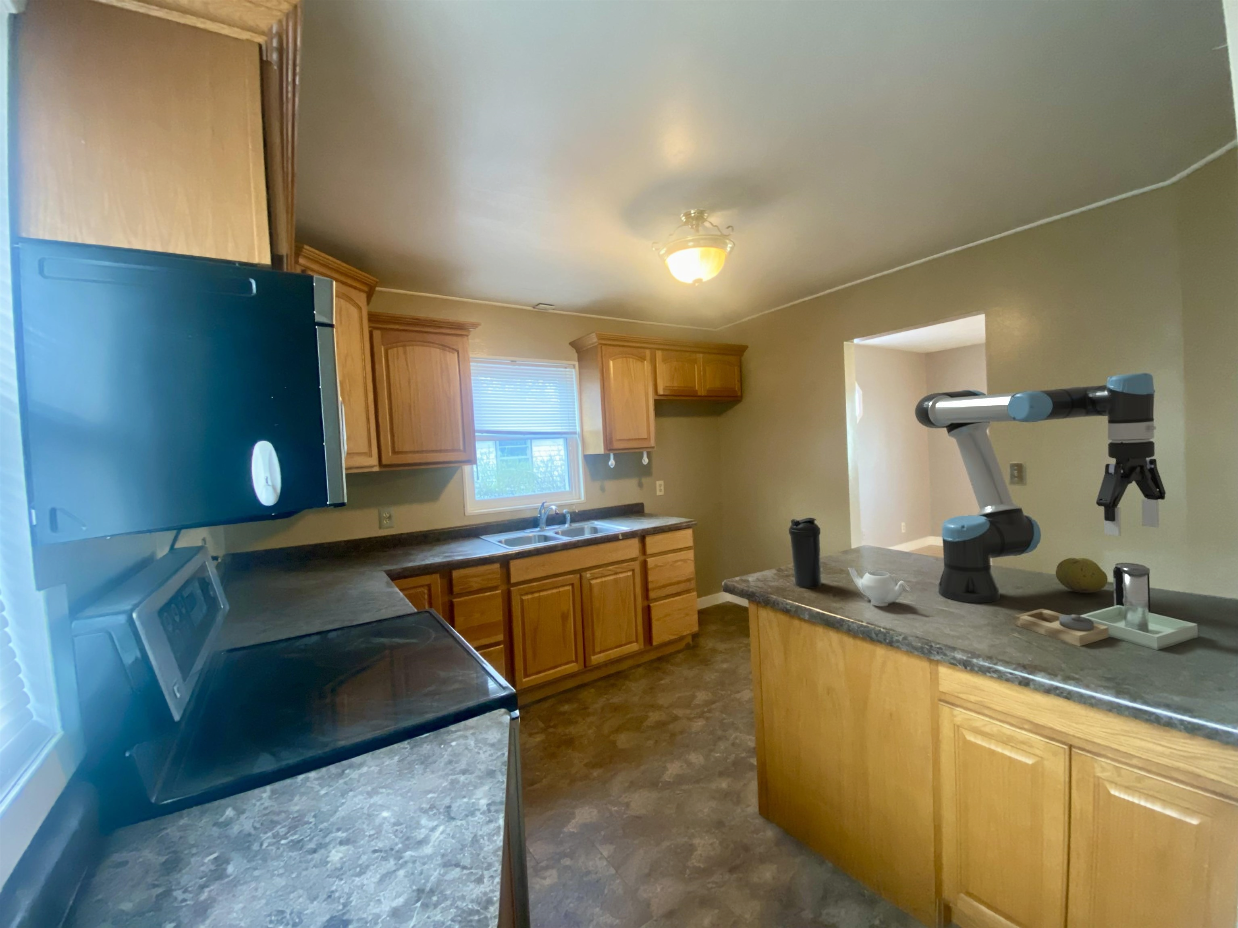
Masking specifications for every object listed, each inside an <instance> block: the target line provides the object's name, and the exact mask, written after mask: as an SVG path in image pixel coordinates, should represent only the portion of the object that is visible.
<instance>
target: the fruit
mask: <svg viewBox="0 0 1238 928" xmlns="http://www.w3.org/2000/svg"><path fill="white" fill-rule="evenodd" d="M1055 577H1056V579H1057V581H1058V582H1059V583H1060V584H1061V585H1062V586H1063V587H1065V588H1067V589H1068V590H1070V591H1072V592H1076V593H1079V594H1086V593H1087V594H1088V593H1095V592H1099V591H1101V590H1102V589H1104V588H1105V586H1106V585H1107V584H1108V575H1107V573H1106V572H1105V571H1103V569H1102V568H1101V567H1100V566H1099V565H1098V564H1097V563H1096V562H1095V561H1094V560H1092V559H1090V558H1086V557H1078V558H1076V557H1068V558H1065V559H1063V560H1060V562H1059V563H1058V564H1057V565H1056V569H1055Z"/></svg>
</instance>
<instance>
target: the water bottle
mask: <svg viewBox="0 0 1238 928" xmlns="http://www.w3.org/2000/svg"><path fill="white" fill-rule="evenodd" d="M815 521H817V519H816V518H815V517H806V518H802V519H799V520H798V519H796V518H793V519H791V520H790V523H791V524H790V526H789V527H788V534H789V536H790V547H791V556H792V564H793V577H794V584H795V586H796V587H799V588H803V589H816V588H820V587H821V586H822V580H821V579H822V576H821V573H822V571H821V570H822V568H821V564H822V563H821V547H820V546H821V545H820V544H821V543H820V542H821V541H820V536H821V527H819V525H818V524H817V523H816V522H815Z"/></svg>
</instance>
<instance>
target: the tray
mask: <svg viewBox="0 0 1238 928" xmlns="http://www.w3.org/2000/svg"><path fill="white" fill-rule="evenodd" d="M1148 614H1149V632H1148V633H1145V632H1141V631H1138V630H1134V629H1130V628H1127V627H1125V622H1124V606H1120V605H1117V606H1114V605H1113V606H1111V607H1107V608H1103V609H1099V610H1096V611H1095V610H1094V611H1091V612H1088V613H1084V614H1081V615H1079V616H1080V617H1085V618H1088V619H1090V620H1092V621H1093V623H1096V624H1100V625H1103V626H1107V627H1108V630H1109V637H1111V638H1114V639H1118V640H1120V641H1125V642H1128V643H1132V644H1135V645H1137V646H1142V647H1145V648H1148V649H1152V650H1155V651H1159V650H1162V649H1165V648H1168V647H1172V646H1175V645H1178V644H1181V643H1184V642H1187V641H1190V640H1194V639H1197V638H1198V637H1199V634H1198V633H1199V632H1198V623H1194V622H1191V621H1190V622H1189V621H1185V620H1181V619H1177V618H1173V617H1170V616H1165V615H1161V614H1157V613H1152V612H1150V611H1149V612H1148Z"/></svg>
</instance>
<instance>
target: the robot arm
mask: <svg viewBox="0 0 1238 928" xmlns="http://www.w3.org/2000/svg"><path fill="white" fill-rule="evenodd" d="M1154 384H1155V383H1154V377H1153V375H1152V374H1151V373H1149V372H1139V373H1130V374H1129V373H1128V374H1119V375H1110V376H1109V377H1107V382H1106V384H1103V385H1088V386H1075V387H1074V386H1073V387H1065V388H1056V389H1046V390H1045V389H1044V390H1041V389H1040V390H1028V391H1022V392H1018V391H1017V392H1007V393H996V394H986V393H985V392H982V391H980V390H974V389H973V390H972V389H964V390H958V391H957V390H954V391H946V392H935V393H930V394H927V395H925V396H924V397H922V398H921V399H920V400H919V401H918V402H917V404H916V405H915V408H914V409H915V410H914V415H915V418H916V420H917V422H918V423H919V424H920V425H922V426H924V427H926V428H928V429H946V432H947V435H948V437H950V438H953V439H954V440H955V442H956V445H957V447H958V448H957V449H959V453H960V456H961V458H962V459H961V460H962V461H963V465H964V467H965V470H966V472H967V476H968V479H969V483H970V485H971V487H972V491H973V494H974V497H975V500H976V502H977V504H978V505H977V506H978V508H979V509H978V510H979V511H978V512H977V513H976V514H975V515H974V514H971V515H970V514H968V515H959V516H953V517H950V518H948V519H946V520H945V521H944V522H943V523H942V529H941V530H942V531H941V538H942V551H943V553H942V554H943V571H942V573H941V576H940V580H939V582H938V588H937V589H938V593H939V595H941V596H942V597H944V598H947V599H951V600H954V601H959V602H964V603H977V604H982V603H983V604H984V603H993V602H997V601H998V600H999V599H1000V595H1001V594H1000V589H999V587H998V585H997V582H996V580H995V577H994V575H993V573H992V565H991V564H992V563H991V559H997V558H1004V557H1012V556H1013V557H1015V556H1022V555H1024V554H1029V553H1032V552H1033V551H1034V550H1037V548H1038V546H1039V544H1040V543H1041V539H1042V532H1041V527H1040V525H1039V524H1038V522H1037V521H1036V520H1035V519H1033V518H1032V517H1031V516H1030V515H1026V514H1025V513H1024V510H1023V509H1022V507H1021V506H1020V505H1017V504H1015V503H1014V502H1013V498H1012V497H1011V494H1010V491H1009V488H1008V486H1007V482H1006V479H1005V478H1004V474H1003V472H1002V469H1001V466H1000V463H999V461H998V457H997V456H996V455H997V454H996V453H995V450H994V447H993V445H992V442H991V440H990V437H989V434H988V433H989V432H988V430H989V428H990V427H991V423H994V422H995V423H999V422H1019V423H1037V422H1041V421H1042V422H1043V421H1052V420H1063V419H1075V418H1086V417H1107V440H1109V441H1110V442H1109V443H1108V444H1107V455H1108V457H1109V458H1111V459H1114V460H1115V463H1106V464H1105V465H1104V474H1103V477H1102V481H1101V486H1100V488H1099V492H1098V495H1097V498H1096V505H1097V506H1098V507H1103V527H1104V528H1103V531H1104V535H1110V536H1111V535H1112V536H1115V537H1116V536H1117V537H1118V536H1119V537H1121V536H1122V526H1121V525H1122V523H1121V522H1122V521H1121V520H1122V515H1121V514H1122V512H1121V511H1122V509H1121V507H1119V504H1120V502H1121V500H1122V498H1123V496H1124V494H1125V492H1126V490H1127V489H1128V486H1129V485H1131V484H1132V483H1133V482H1134V483H1135V484H1136V486H1137V488H1138V489H1139V491H1140V492H1141V494H1142V495H1143V497H1144V498H1142V499H1141V526H1142V527H1149V528H1156V529H1157V528H1160V508H1159V507H1160V504H1159V503H1160V502H1159V501H1162V500H1163V501H1164V500H1165V499H1166V494H1167V492H1166V490H1165V486H1164V483H1163V481H1162V478H1161V475H1160V473H1159V472H1160V471H1159V469H1158V464H1157V458H1153V457H1155V451H1156V450H1155V442H1154V441H1153V440H1152V439H1154V438H1155V431H1156V429H1157V426H1155V422H1154V421H1155V418H1154V412H1155V411H1154V407H1155V406H1154V405H1155V393H1156V390H1155V386H1154Z"/></svg>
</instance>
